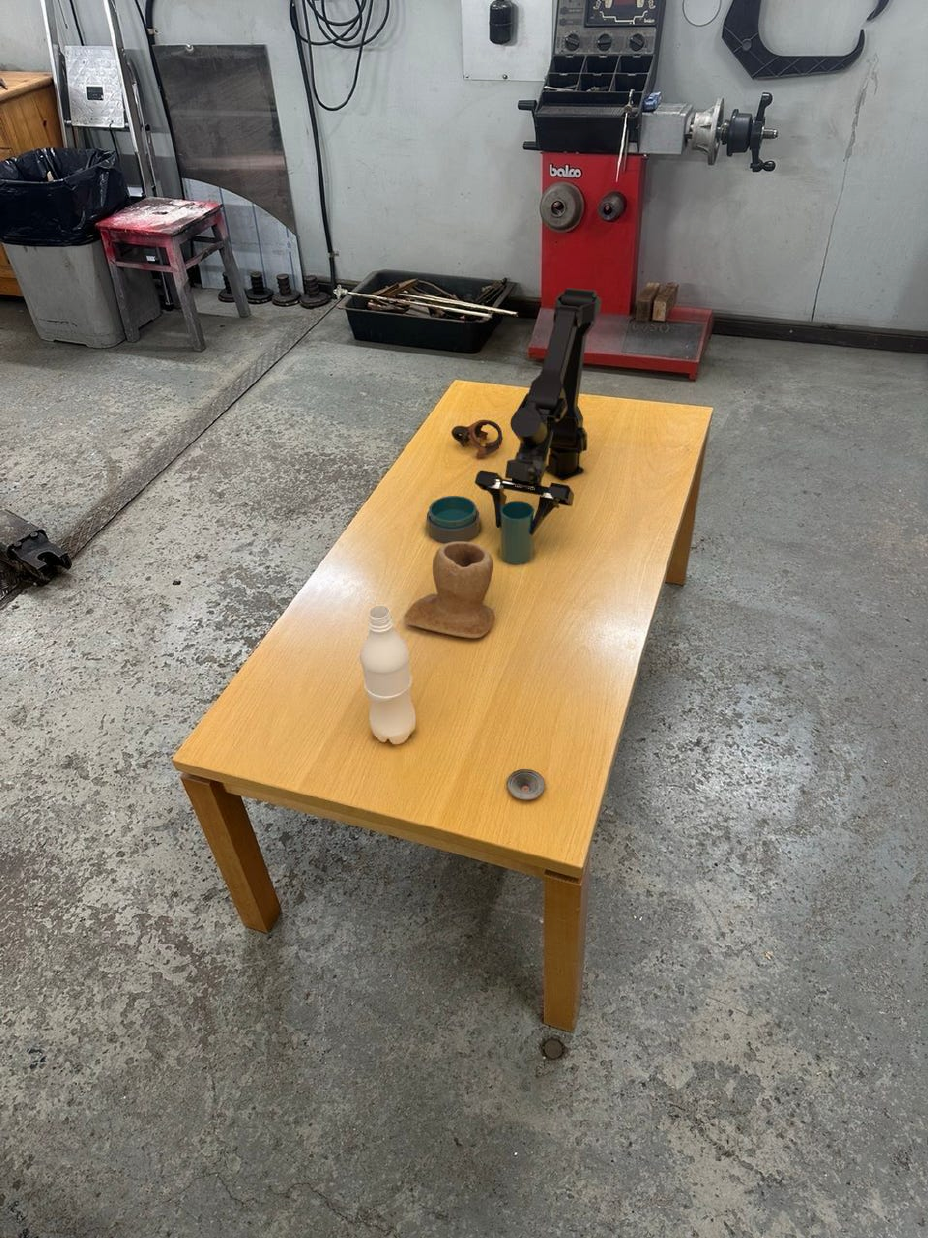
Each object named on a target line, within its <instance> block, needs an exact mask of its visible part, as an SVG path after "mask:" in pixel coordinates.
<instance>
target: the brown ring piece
mask: <svg viewBox="0 0 928 1238" xmlns="http://www.w3.org/2000/svg"><path fill="white" fill-rule="evenodd" d="M487 425H489V426H491V427H492V428H493V429H495V430H496V432H497V438H496V439H494V441H492V442H485V443H484V445H482V444H481V443H482V441H481V440H485V441H486V440H487V438H488V436H489V432H487V431H484V430H482V429H483V427H485V426H487ZM450 434H451V436H452V438H453V439H454V440H455V441H456V442H458V443H460V445H461V446H462V448H465V446H466V445H468V443H469V442H471V444H472V445H473V446H474V447H475V448H476V449H477V453H476V454H475V457H476V458H478V459H484V458H485V456H490V455H491V454H493V453H495V452H496V451H498V450H499V449H500V446H502V443H503V440H504V439H503V433H502V428H501V427H500V425H499V424H498V423H496V422H495V421H493V420H490V419H480V420H477V421H475V422H473V423H471V424H470V425H468V426H465V425H456V426H454V427H453V428H452V430H451V432H450ZM480 439H481V440H480Z"/></svg>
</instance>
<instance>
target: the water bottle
mask: <svg viewBox="0 0 928 1238" xmlns="http://www.w3.org/2000/svg"><path fill="white" fill-rule="evenodd" d="M367 614H368V623H367V627H368V630H369V631H368V634H367V636H366V637H365V639H364V641H363V643H362V646H361V647H360V653H359V660H360V664H361V668H362V673H363V687H364V691H365V693H366V695H367V697H368V701H369V713H368V719H369V726H370V729H371V731H372V734H373V735H374V736H375V738H376V739H377V740H379V742H381V743H386V742H387V741H389V742H390V743H391V744H392V745H400V744H404V743H405V742H406V741H407V740H408V738H409V736H410V735H411V734H412V733H413V732H414V731H415V728H416V723H417V721H416V720H417V716H416V709H415V708H414V705H413V702H412V698H411V687H412V683H413V677H412V674H411V666H410V665H411V664H410V651H409V647H408V645H407V642H406V641H405V640H404V639H403V638H402V637H401V635H400V634H399V633H398V632H397V631H396V629H395V628H394V620H393V618H392V617H391V610H390V608H389V607H388V606H387V605H383V604H382V605H381V604H379V605H374V606H373V607H371V608H370V609H369V610H368V613H367Z"/></svg>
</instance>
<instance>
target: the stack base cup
mask: <svg viewBox="0 0 928 1238" xmlns="http://www.w3.org/2000/svg"><path fill="white" fill-rule="evenodd" d="M480 523H481V522H480V511H479V509H478V508H477V507H476V519H475V521H474V522H473V523H471V524H470V525H468V526H466V527H463V528H458V529H445V528H440V527H438V526H436V525H434V524H433V523H432V522H431V521H430V518H429V510H428V511H427V513H426V530H427V533H428V535H429V537H430V538H431V539H433V540H434V541H435V542H438V543H441V544H447V543H450V542H469V541H471V540H474V538H476V537H477V535H478V534H479V532H480V525H481V524H480Z"/></svg>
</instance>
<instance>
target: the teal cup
mask: <svg viewBox="0 0 928 1238" xmlns="http://www.w3.org/2000/svg"><path fill="white" fill-rule="evenodd" d="M534 518H535V508H534V507H533V505H531V504H530V503H528V502H525V501H523V500H514V501H508V502H506V503H505V504H504V505H503V506H502V507H501V508H500V527H499V557H500V559H501V560H502V561H503V562H505V563H507V564H510V565H523V564H526V563H528V562H530V561H531V560H532V558H533V556H534V539H535V538H534V535H535V533H534V534H533V535H531V534H530V532H531V527H532V524H533V521H534Z"/></svg>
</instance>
